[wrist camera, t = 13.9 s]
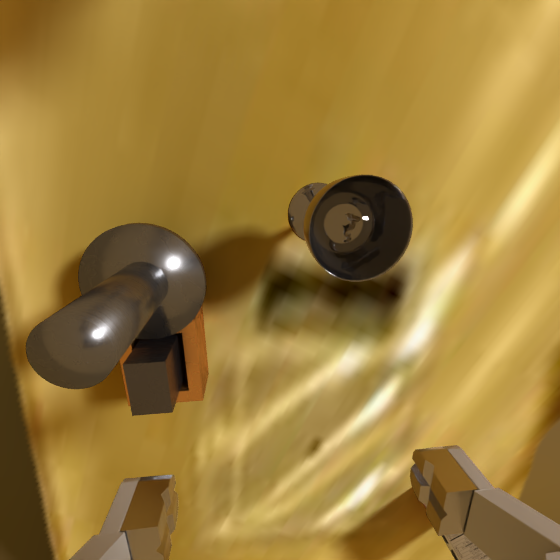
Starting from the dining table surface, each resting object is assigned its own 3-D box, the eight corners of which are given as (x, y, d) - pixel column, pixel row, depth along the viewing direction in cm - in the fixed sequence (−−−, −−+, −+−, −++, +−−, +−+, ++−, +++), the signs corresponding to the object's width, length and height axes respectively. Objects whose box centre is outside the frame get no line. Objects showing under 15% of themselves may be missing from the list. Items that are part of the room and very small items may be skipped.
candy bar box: (460, 508, 55) (543, 635, 40) (436, 521, 56) (509, 651, 40) (438, 471, 52) (520, 594, 36) (412, 485, 52) (482, 612, 37)
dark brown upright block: (153, 320, 39) (122, 364, 29) (185, 318, 39) (165, 361, 30) (159, 361, 40) (132, 415, 31) (189, 359, 41) (172, 412, 31)
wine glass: (362, 206, 37) (434, 218, 23) (322, 258, 38) (366, 300, 24) (312, 164, 35) (356, 149, 21) (271, 221, 36) (287, 243, 22)
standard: (101, 218, 34) (-80, 257, 15) (208, 215, 36) (163, 250, 16) (130, 378, 41) (28, 547, 22) (220, 372, 42) (199, 527, 23)
